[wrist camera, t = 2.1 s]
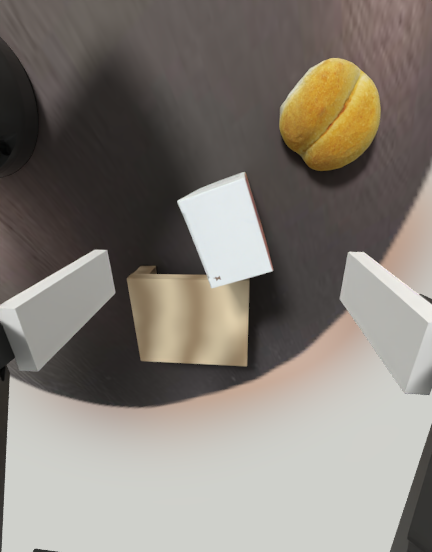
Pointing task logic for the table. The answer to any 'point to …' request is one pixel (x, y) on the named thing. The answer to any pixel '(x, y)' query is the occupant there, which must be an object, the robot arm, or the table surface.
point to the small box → (227, 230)
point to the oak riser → (189, 318)
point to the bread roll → (331, 115)
